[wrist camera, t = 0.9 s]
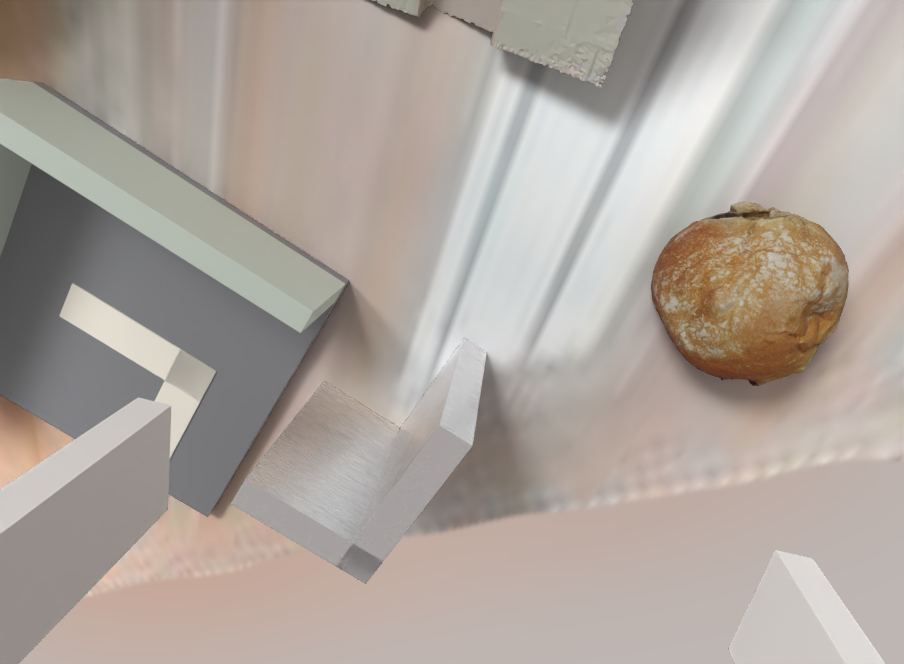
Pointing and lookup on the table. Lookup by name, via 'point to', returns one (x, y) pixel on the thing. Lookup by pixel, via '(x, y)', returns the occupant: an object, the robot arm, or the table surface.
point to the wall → (543, 29)
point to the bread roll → (750, 292)
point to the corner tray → (142, 292)
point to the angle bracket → (364, 467)
